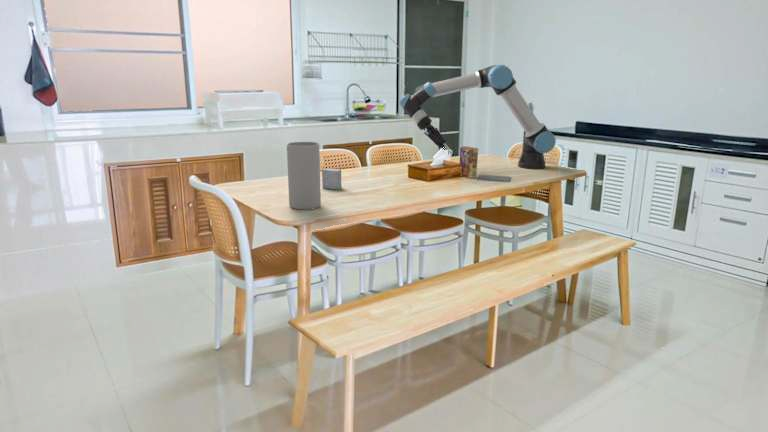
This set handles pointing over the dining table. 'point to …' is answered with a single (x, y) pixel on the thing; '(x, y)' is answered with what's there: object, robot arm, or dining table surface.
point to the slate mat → (494, 178)
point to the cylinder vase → (303, 175)
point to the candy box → (468, 161)
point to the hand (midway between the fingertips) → (450, 154)
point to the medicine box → (331, 178)
